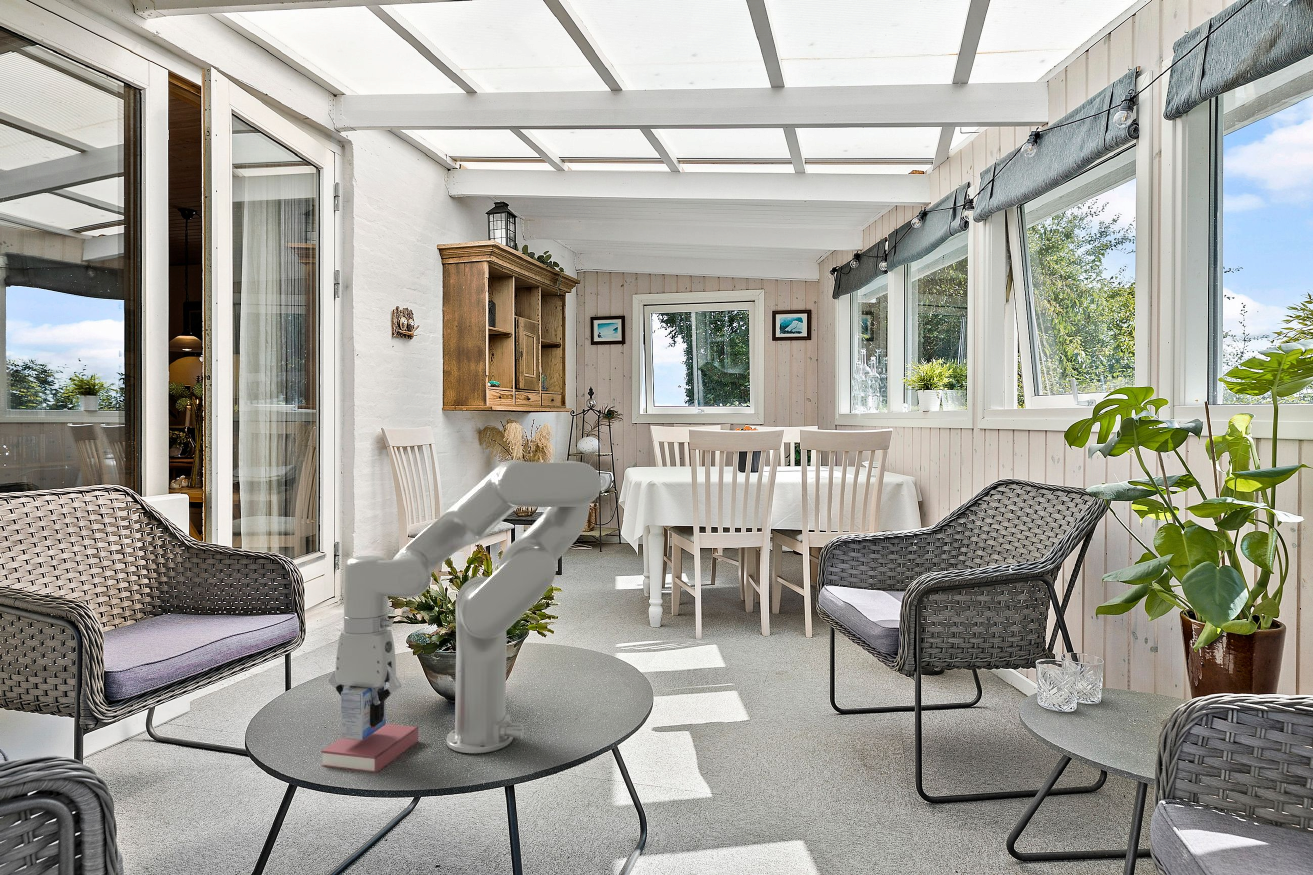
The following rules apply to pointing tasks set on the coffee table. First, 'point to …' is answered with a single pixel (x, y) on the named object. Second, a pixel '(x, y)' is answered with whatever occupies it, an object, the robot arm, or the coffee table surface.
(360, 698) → the medicine box
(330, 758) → the book
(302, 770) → the coffee table surface
